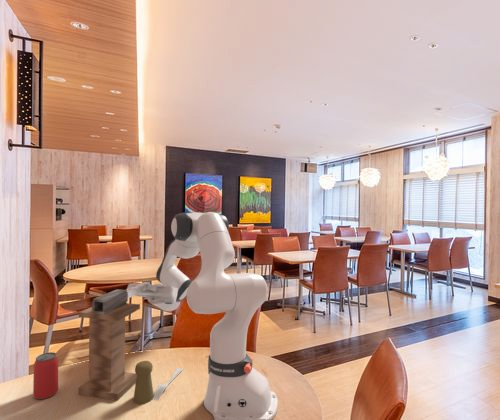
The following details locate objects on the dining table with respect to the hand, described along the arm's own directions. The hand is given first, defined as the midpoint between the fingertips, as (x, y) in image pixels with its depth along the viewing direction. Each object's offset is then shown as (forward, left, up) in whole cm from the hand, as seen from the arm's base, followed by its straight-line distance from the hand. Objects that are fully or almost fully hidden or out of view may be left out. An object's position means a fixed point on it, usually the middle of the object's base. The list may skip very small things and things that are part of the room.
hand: (143, 285), depth 123 cm
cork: (-14, +23, -29) cm, 40 cm away
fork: (-18, +14, -29) cm, 37 cm away
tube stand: (0, +20, -29) cm, 35 cm away
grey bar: (0, +7, -2) cm, 7 cm away
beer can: (+17, +28, -29) cm, 44 cm away
